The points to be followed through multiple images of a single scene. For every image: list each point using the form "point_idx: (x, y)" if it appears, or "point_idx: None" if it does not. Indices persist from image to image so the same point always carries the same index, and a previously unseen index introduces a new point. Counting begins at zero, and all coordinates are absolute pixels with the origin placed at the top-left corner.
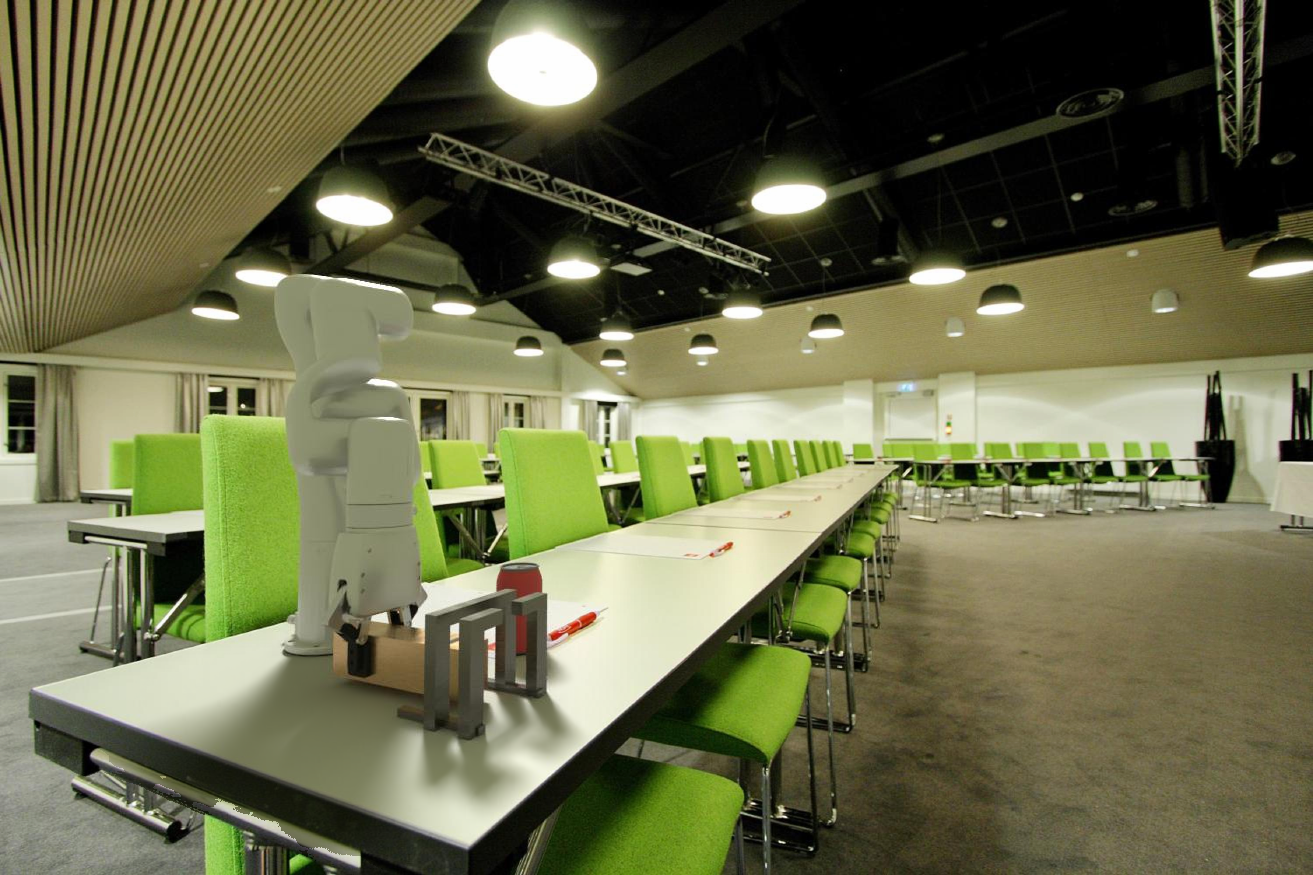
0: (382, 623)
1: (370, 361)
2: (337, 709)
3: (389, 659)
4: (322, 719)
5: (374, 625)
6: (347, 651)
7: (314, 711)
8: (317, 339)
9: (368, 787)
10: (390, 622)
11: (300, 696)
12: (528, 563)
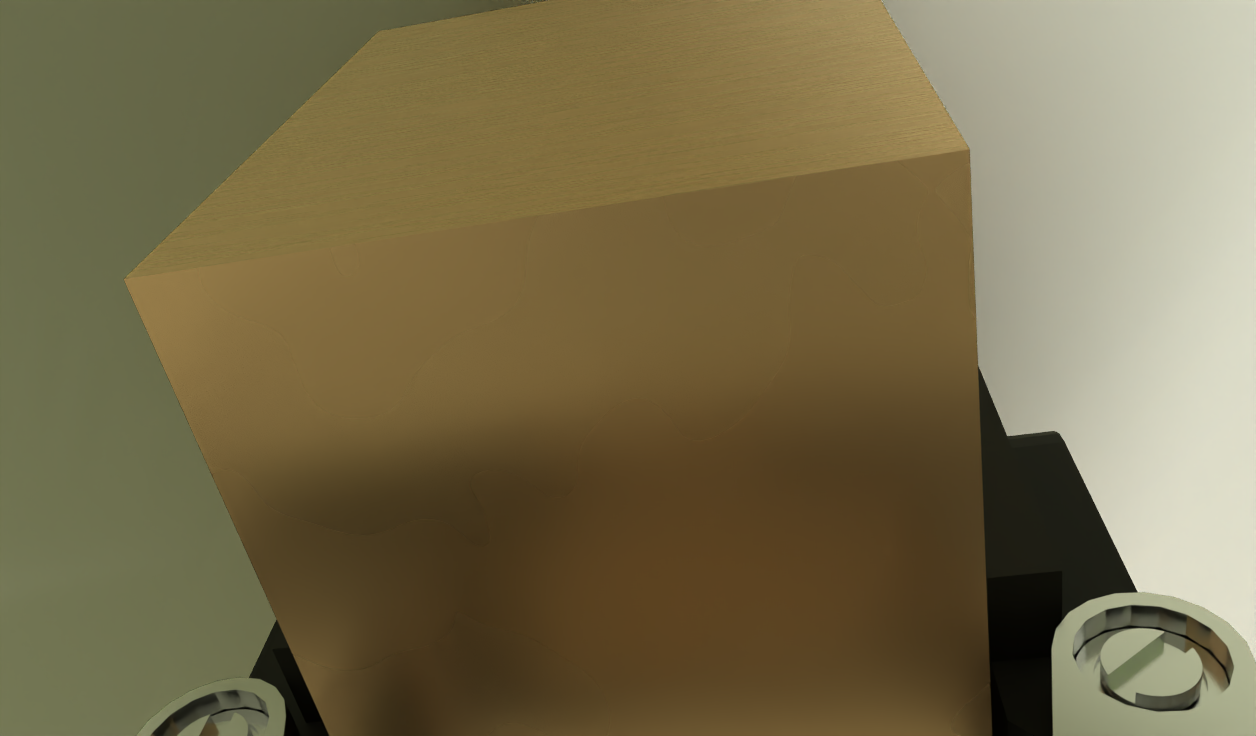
0: (944, 654)
1: None
2: (241, 547)
3: None
4: (114, 605)
5: (775, 652)
6: (267, 640)
7: (100, 455)
8: None
9: None
10: (1048, 724)
11: (67, 43)
12: None
